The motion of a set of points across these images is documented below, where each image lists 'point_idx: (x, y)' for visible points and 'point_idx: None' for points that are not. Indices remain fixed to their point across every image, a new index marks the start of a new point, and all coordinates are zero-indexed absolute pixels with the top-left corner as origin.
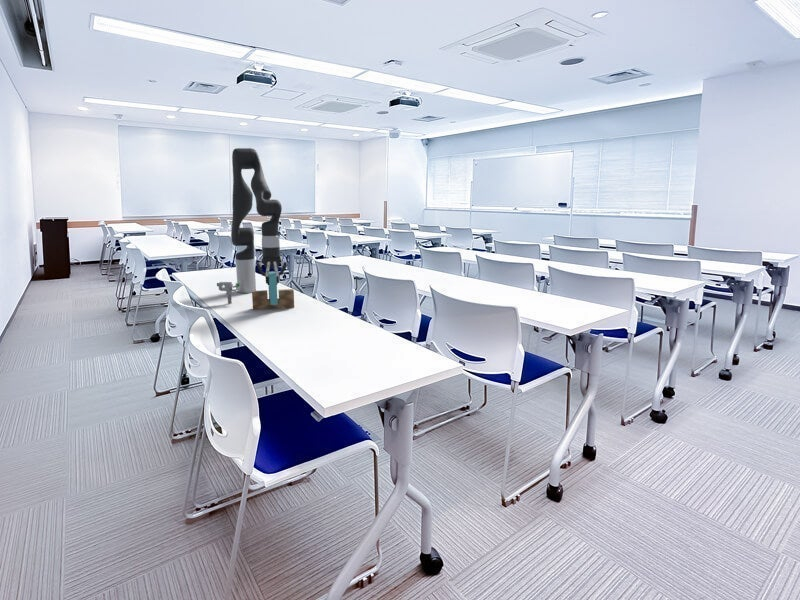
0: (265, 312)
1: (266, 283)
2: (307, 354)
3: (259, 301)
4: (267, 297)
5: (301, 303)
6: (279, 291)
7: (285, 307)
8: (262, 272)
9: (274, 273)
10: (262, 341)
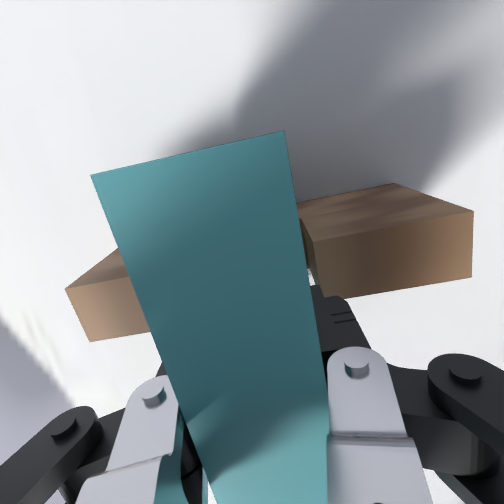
0: (302, 102)
1: (337, 297)
2: None
3: (365, 203)
4: (305, 223)
5: None
6: None
7: None
8: (499, 409)
9: (218, 456)
10: None
